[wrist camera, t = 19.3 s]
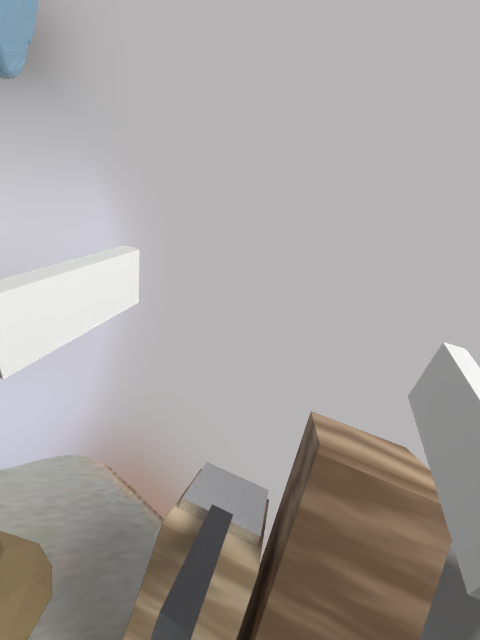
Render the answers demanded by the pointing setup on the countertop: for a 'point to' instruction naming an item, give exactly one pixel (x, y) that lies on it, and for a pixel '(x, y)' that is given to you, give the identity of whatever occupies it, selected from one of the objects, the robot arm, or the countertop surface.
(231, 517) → the turner
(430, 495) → the wooden block
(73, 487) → the countertop surface
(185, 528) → the step
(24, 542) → the faceted tan rock
